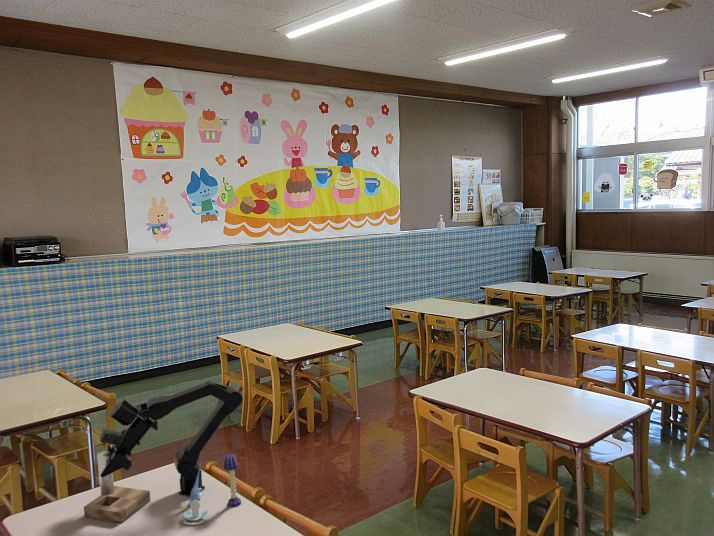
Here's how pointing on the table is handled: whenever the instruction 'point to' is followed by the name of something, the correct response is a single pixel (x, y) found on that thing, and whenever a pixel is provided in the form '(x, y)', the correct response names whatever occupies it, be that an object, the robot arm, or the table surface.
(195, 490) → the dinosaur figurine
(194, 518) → the pacifier
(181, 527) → the table surface
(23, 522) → the table surface
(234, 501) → the toy lamp
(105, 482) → the aluminium peg
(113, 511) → the pocket board
